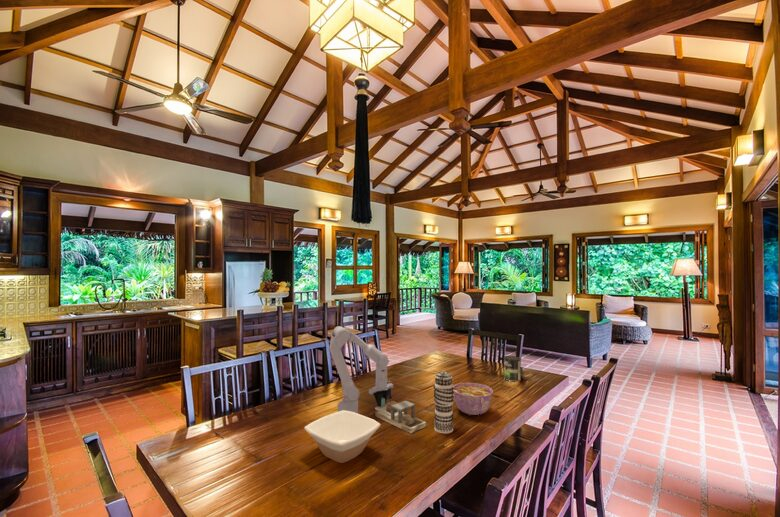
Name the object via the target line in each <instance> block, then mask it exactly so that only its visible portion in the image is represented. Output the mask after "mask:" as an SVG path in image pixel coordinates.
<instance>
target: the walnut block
mask: <svg viewBox="0 0 780 517" xmlns="http://www.w3.org/2000/svg"><path fill="white" fill-rule="evenodd" d="M397 403H398V402H396V401H394V400H390V401H388V402H387V401H386V411H387V412H389V413H391V406H392V405H395V404H397ZM395 412H398V410H397V409H395Z"/></svg>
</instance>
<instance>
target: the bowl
mask: <svg viewBox="0 0 780 517" xmlns="http://www.w3.org/2000/svg"><path fill="white" fill-rule="evenodd" d="M380 427H381V423H380V422H379V421H376V420H375V419H373V418H370V417H368V416H366V415H363V414H360V413H358V414H357V413H355V412H351V411H346V410H343V411H339V412H338V411H337V412H332V413H330V414H327V415H324V416H322V417H320V418H317V419H316V420H314V421H312V422H310V423H309V424H307V425H305V426H304V430H305V431H306V433H308V434H309V436H310V437H311V438H313V440H314V441H315V443H316V444H317V447H318V448H319V450H320V451H321V453H322V454H323V455H324V456H325V457H327V458H328V459H330V460H332V461H334V462H337V463H339V464H343V463H346V462H349V461H351V460H353V459H355V458H356V457H358V456H359V455H361V454H362V453H363V452H364V450H365V448H366V446H367V445H368V443H369V441H370V439H371V437H372V436H373V434H375V432H377V430H378V429H379V428H380Z"/></svg>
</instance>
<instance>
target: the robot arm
mask: <svg viewBox="0 0 780 517" xmlns="http://www.w3.org/2000/svg"><path fill="white" fill-rule="evenodd" d="M329 341H330V342H329V347H328V348H329V349H328V350H329V351H330V354H331V357H332V360H333V362H334V365H335V368H336V371H337V373H338V376H339V378H340V381H341V382H340V383H341V386H342V387H341V391H342V394H343V396H342V400H340V401H339V402H338V403H337V412H339V411H343V410H346V411H351V412H355V413H357V414H359V397H360V390H359V389H358V388H357V387H356V385H355V383H354V381H353V379H352V377H351V374H350V371H349V368H348V366H347V362H346V361H345V358H344V357H345V356H344V355H343V352H342V350H341V349H342V348H343V346H344V345H345V344H346V343H347V342H349V343H351V342H352V343H354V344H355V345H357V346H358V347H360V349H362V350H363V354H364V355H365V356H367V357H368V358H369V360H372V361H373V362H374V363H375V386H373V387H372V388H369V389H368V394H369V395H373V396H374V399H375V401H376V407H378V406H379V407H380V406H381V399H382V397H383V398H385V404H386V403H387V399H388V398H387V397H388V395H389V393H390V390H388V389H389V388H391V389H393V388H394V384H393V383H392V382H391V383H389V384H387V381H388V365H389V363H390V359H389V358H388V356H387V355H385V354H384V353H383V351H382V350H379V349H378V348H377V347H376V345H375V344H372V343H369V344H368V343H366V342H365V341H364V340H362V338H360V337H359V336H358V335H357V334H356V333H354V332H352V331H350V330H348V329H346V328H344V327H343V326H341V325H338V326H336V327H334V329H333V330H332V331H331V333H330V340H329Z"/></svg>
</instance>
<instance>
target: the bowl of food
mask: <svg viewBox="0 0 780 517" xmlns="http://www.w3.org/2000/svg"><path fill="white" fill-rule="evenodd" d="M453 388H454V390H453V391H454V393H453V394H452V395H453V396H454V397H453V399H454V402H455V405H456V407H457V409H458V410H460V411H461V412H462V413H464V414H465V413H466V415H467V414H468V416H471V415H478V416H480V415H482V414H484V413H486V412H488V410H489V409H490V405H491V401H492V397H493V393H494V390H493V389H492V388H491V387H490V386H488V385H486V384H482V383H477V382H476V383H475V382H461V383H456V384H455V385H454V384H453ZM479 414H480V415H479Z"/></svg>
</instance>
